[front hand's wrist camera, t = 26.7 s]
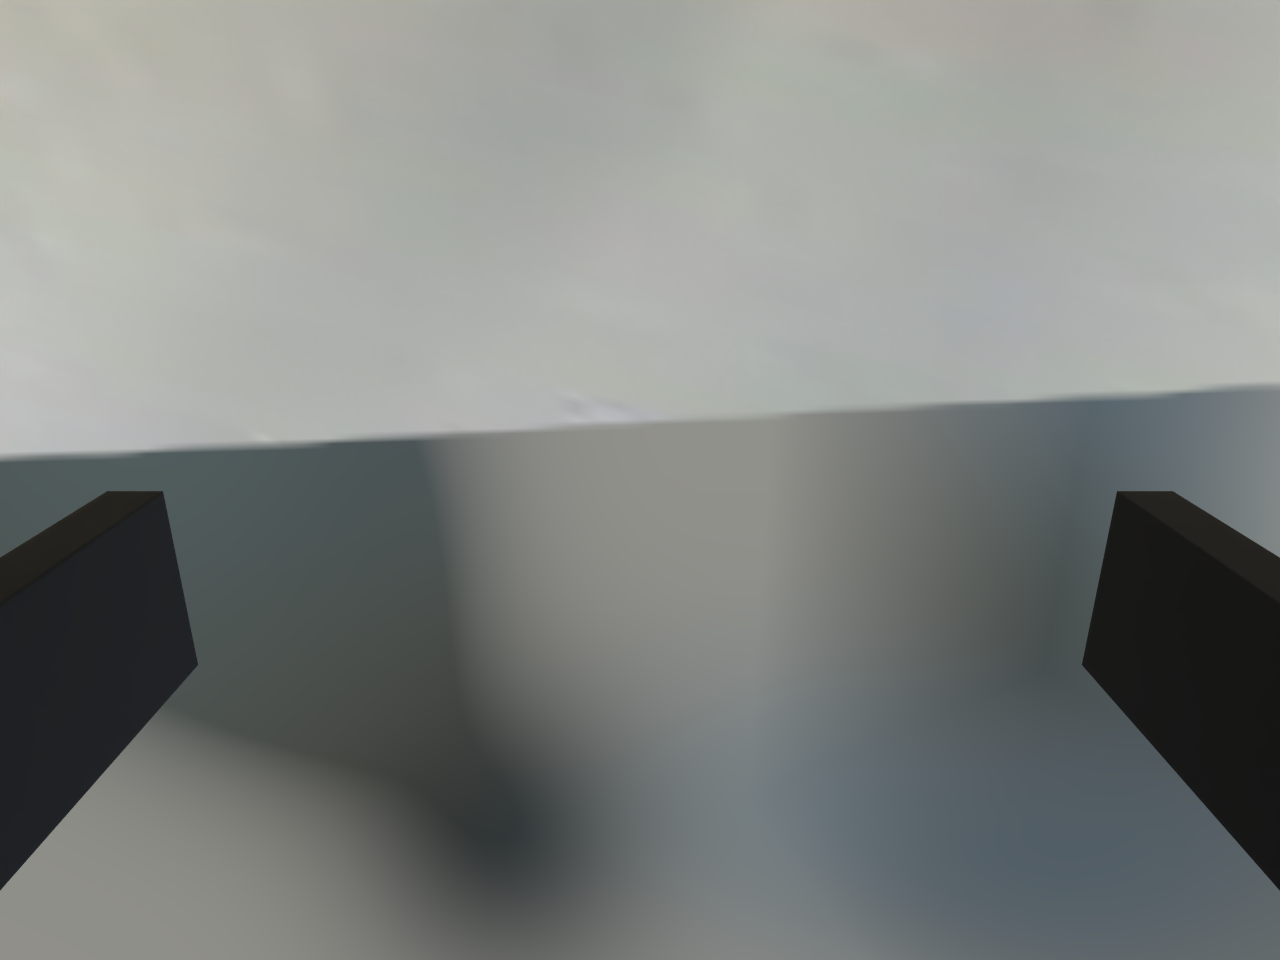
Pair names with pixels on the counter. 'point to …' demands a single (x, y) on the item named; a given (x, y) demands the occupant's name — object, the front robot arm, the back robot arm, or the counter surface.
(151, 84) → the counter surface
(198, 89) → the counter surface
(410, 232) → the counter surface
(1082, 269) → the counter surface
